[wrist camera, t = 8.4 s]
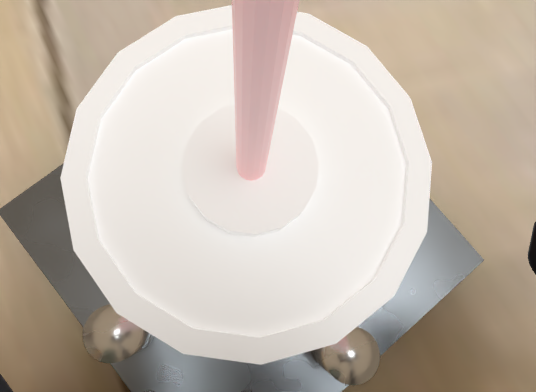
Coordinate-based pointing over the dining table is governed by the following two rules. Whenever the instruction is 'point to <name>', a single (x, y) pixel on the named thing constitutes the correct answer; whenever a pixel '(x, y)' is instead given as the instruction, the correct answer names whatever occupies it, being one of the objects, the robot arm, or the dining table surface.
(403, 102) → the beverage cup
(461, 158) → the dining table surface
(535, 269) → the robot arm
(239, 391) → the chassis plate
